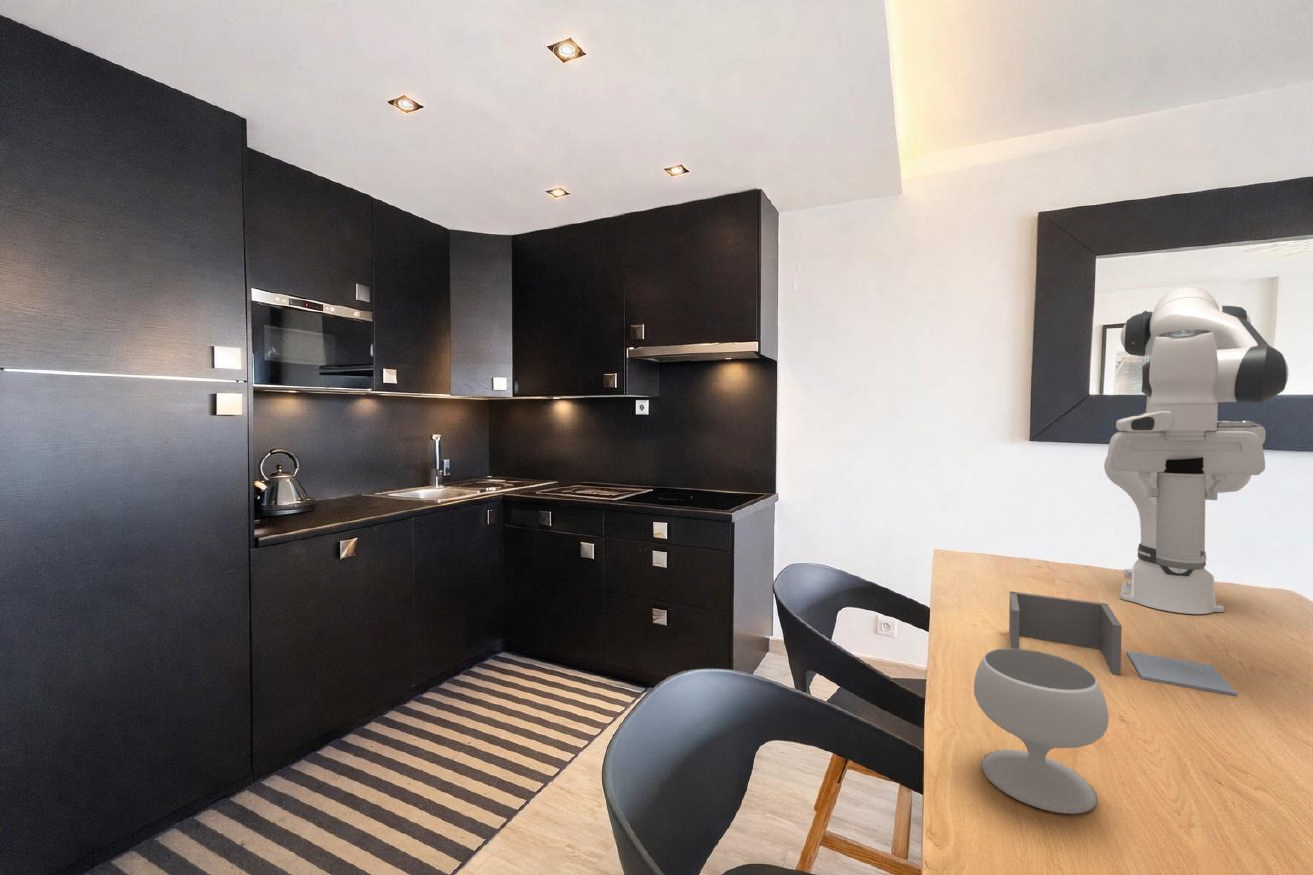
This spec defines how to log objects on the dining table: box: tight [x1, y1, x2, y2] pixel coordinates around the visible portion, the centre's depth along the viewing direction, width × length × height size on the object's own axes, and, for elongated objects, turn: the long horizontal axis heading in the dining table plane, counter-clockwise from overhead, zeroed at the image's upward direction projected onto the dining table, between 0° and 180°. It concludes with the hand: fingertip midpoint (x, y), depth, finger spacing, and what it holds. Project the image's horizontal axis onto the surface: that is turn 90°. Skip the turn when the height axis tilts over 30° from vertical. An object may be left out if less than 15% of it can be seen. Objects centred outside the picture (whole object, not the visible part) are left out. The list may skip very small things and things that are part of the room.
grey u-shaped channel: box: [1008, 590, 1123, 676], centre depth 107 cm, size 13×16×9 cm
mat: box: [1126, 650, 1238, 697], centre depth 98 cm, size 12×12×1 cm
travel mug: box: [1156, 457, 1206, 570], centre depth 97 cm, size 6×7×20 cm
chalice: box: [973, 647, 1110, 815], centre depth 69 cm, size 14×14×15 cm
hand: (1180, 498), depth 97 cm, fingers closed on travel mug, 6 cm apart
